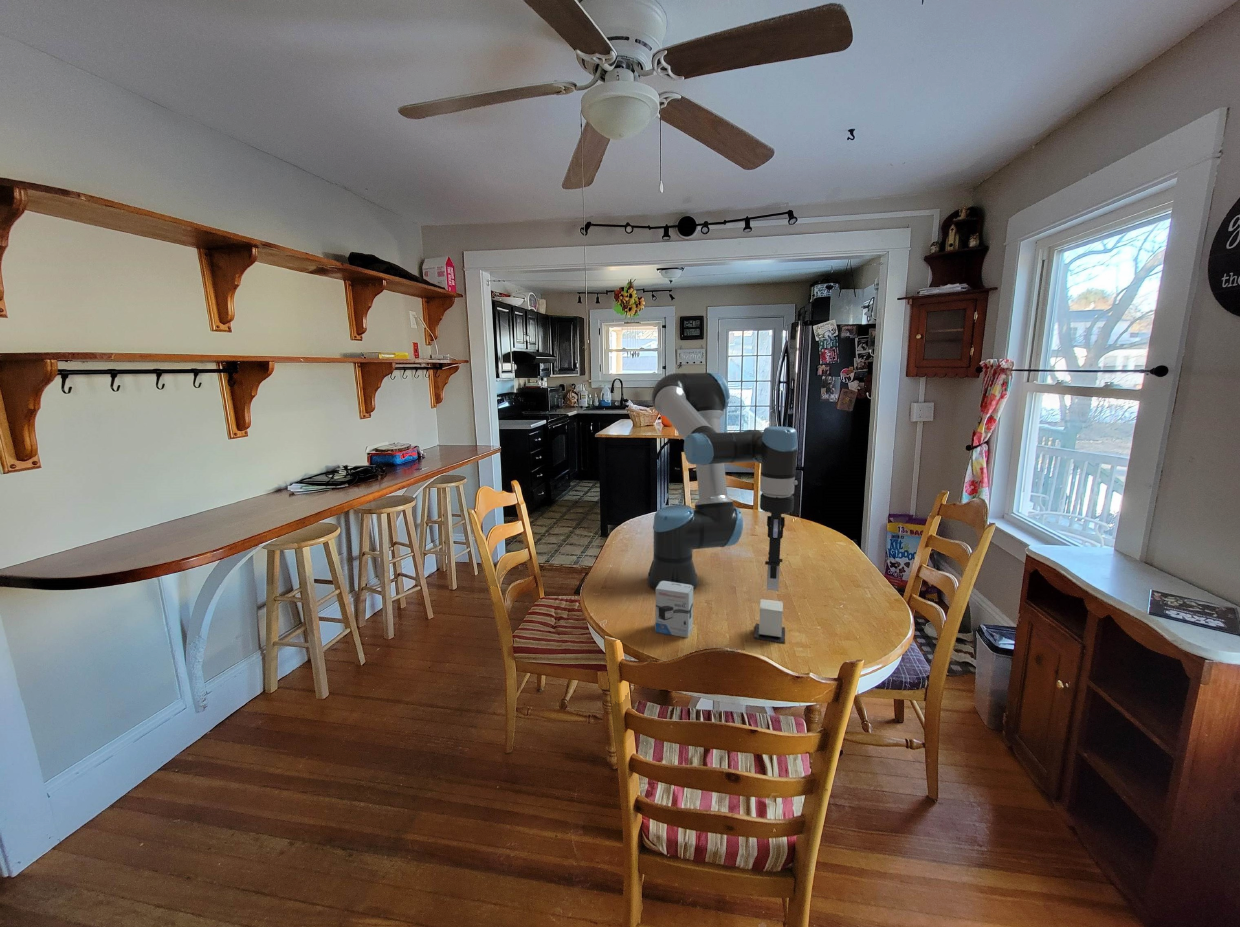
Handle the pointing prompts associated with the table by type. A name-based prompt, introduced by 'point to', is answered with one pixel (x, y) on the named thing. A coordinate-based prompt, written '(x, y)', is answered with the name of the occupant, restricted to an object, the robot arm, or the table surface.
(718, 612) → the table surface
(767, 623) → the white upright block
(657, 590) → the ink box
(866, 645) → the table surface
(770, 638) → the post
